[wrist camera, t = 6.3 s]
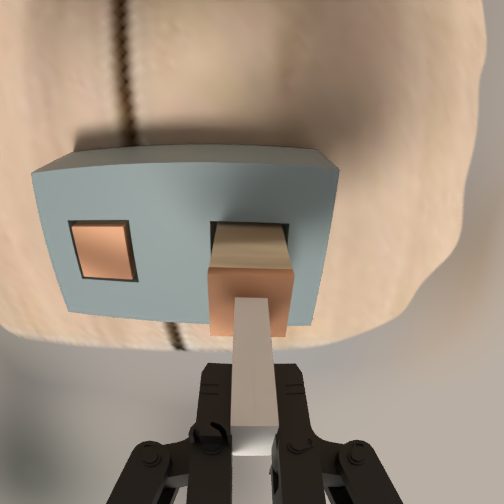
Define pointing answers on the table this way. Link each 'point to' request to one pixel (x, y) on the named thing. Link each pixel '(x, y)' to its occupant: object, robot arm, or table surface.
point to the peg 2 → (249, 273)
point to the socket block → (183, 220)
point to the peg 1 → (105, 248)
